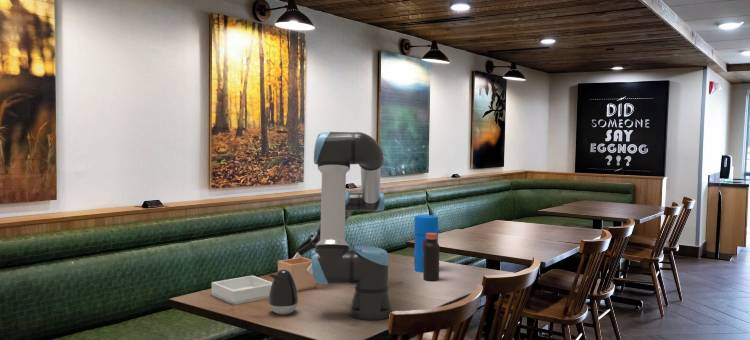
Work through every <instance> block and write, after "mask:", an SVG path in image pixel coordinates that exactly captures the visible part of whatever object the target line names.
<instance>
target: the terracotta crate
mask: <svg viewBox="0 0 750 340" xmlns="http://www.w3.org/2000/svg"><path fill="white" fill-rule="evenodd" d="M311 263H312V261H311V259H310V258H306V257H303V256H302V257H301V258H294V259H293V258H289V259H283V260H281V259H280V260H277V272H278V271H280V270H283V269H284V270H288V271H289V272H290V273H291V275H292V277H293V279H294V282H295V285H296V288H297V292H301V291H306V290H312V289H316V288H317V282H316V281H315V279H314V276H313V273H312V274H309V273H308V272H307V271H306V270H307V269H308V267H309V266H310V265H311Z"/></svg>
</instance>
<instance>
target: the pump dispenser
mask: <svg viewBox="0 0 750 340" xmlns="http://www.w3.org/2000/svg"><path fill="white" fill-rule="evenodd" d="M269 277H270V278H273V279H272V281H271V282H272V285H271V289H270V294H269V298H268V305H269V307H270V309H271V310H272V312H274V313H276V315H289V314H291V313H293V312H294V311H295V310H296V308H297V305H298V303H299V294H298V291H297V288H296V285H295V282H294V279H293V277H292V275H291V273H290V272H289V271H288V270H284V269H283V270H280V271H278V270H277V272H276V274H274V273H269Z"/></svg>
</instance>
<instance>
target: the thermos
mask: <svg viewBox="0 0 750 340" xmlns="http://www.w3.org/2000/svg"><path fill="white" fill-rule="evenodd" d="M426 233H437V240H436V242H437V243H438V244H439V217H438V215H431V214H419V215H415V216H414V242H413V243H414V245H413V246H414V247H413V248H414V250H413V255H414V256H413V261H414V262H413V264H414V266H413V267H414V271H415V272H418V273H423V267H424V244H425V243H426V242H427V240H426Z"/></svg>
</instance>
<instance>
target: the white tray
mask: <svg viewBox="0 0 750 340" xmlns="http://www.w3.org/2000/svg"><path fill="white" fill-rule="evenodd" d="M272 282H273V281H269V280H266V279H264V278H261V277H258V276H256V275H246V276H242V277H235V278H230V279H229V278H228V279H223V280H219V281H218V280H217V281H211V295H212V297H215V298H218V299H219V300H222V301H224V302H226V303H228V304H230V305H233V306H236V305H242V304H247V303H250V302H251V303H252V302H256V301H260V300H261V301H262V300H266V299H269V294H270V289H271V285H272Z"/></svg>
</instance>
